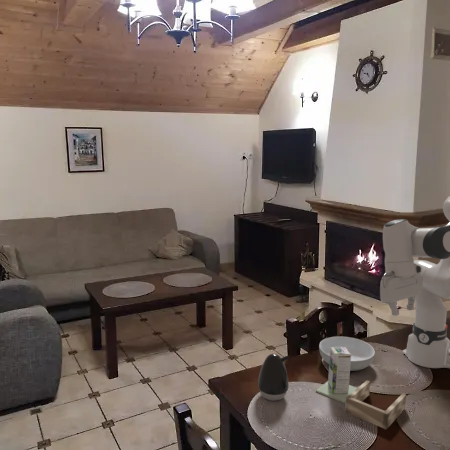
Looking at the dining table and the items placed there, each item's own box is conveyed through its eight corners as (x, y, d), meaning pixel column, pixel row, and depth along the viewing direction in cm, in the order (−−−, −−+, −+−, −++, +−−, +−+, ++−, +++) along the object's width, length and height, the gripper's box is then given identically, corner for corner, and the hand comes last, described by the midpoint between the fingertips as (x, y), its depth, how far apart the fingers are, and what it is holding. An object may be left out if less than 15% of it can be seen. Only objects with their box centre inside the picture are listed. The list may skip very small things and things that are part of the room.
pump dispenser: (292, 403, 151) (294, 360, 148) (262, 406, 149) (263, 362, 146) (283, 387, 161) (284, 346, 158) (254, 389, 159) (255, 348, 156)
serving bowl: (311, 369, 174) (312, 352, 173) (326, 348, 192) (327, 332, 191) (367, 383, 164) (369, 365, 163) (378, 359, 183) (379, 343, 181)
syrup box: (327, 385, 161) (329, 346, 159) (343, 384, 162) (345, 346, 159) (332, 394, 156) (334, 354, 153) (349, 393, 156) (351, 353, 153)
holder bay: (365, 393, 157) (366, 380, 156) (404, 408, 148) (406, 394, 148) (345, 411, 146) (346, 397, 146) (386, 429, 138) (387, 414, 137)
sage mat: (331, 379, 166) (331, 378, 166) (360, 390, 159) (360, 389, 159) (315, 391, 158) (315, 390, 158) (345, 403, 151) (345, 402, 151)
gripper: (391, 274, 140) (395, 319, 140) (424, 266, 153) (427, 308, 153) (373, 273, 144) (376, 317, 144) (406, 266, 158) (409, 306, 157)
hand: (403, 312), depth 149 cm, fingers open, 8 cm apart
